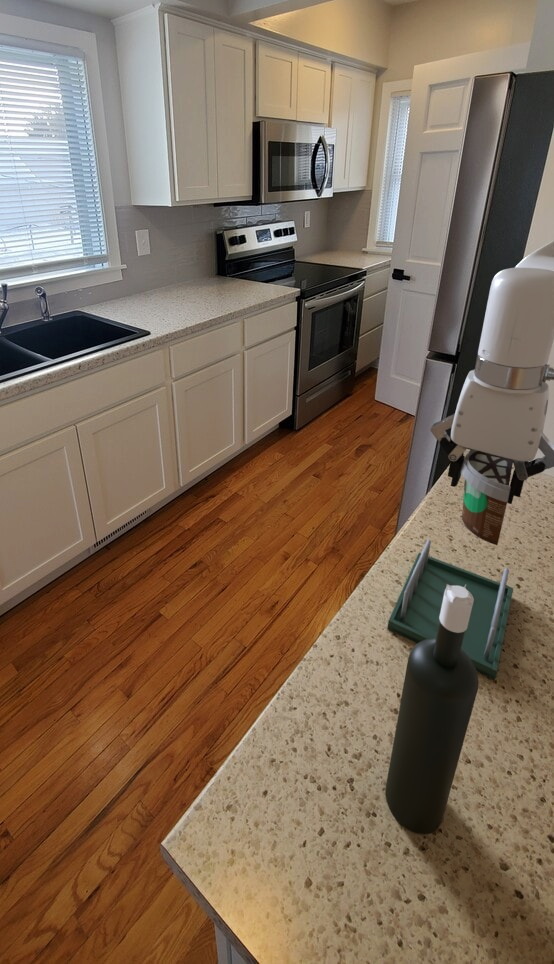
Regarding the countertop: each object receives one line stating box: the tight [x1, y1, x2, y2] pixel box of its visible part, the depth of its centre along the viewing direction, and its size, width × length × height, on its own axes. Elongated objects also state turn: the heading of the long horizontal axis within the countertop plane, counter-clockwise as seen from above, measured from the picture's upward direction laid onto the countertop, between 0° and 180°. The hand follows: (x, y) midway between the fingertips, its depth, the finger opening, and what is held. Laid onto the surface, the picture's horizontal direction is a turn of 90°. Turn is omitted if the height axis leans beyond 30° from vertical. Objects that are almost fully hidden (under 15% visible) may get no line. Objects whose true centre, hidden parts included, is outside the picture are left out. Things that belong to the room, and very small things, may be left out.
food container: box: [461, 449, 514, 546], centre depth 67 cm, size 12×6×10 cm, turn 148°
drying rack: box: [386, 539, 514, 681], centre depth 71 cm, size 14×16×7 cm
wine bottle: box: [384, 584, 480, 835], centre depth 45 cm, size 6×6×30 cm
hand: (482, 488), depth 67 cm, fingers closed on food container, 6 cm apart
